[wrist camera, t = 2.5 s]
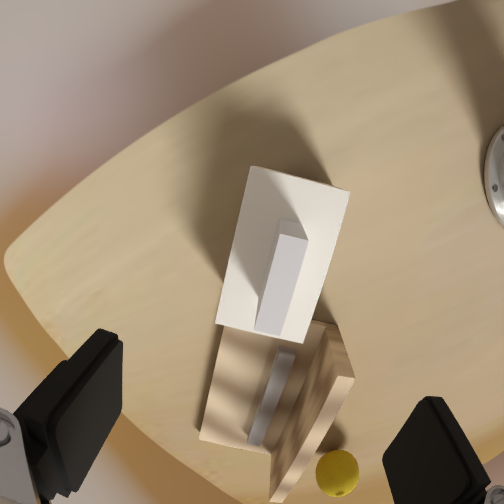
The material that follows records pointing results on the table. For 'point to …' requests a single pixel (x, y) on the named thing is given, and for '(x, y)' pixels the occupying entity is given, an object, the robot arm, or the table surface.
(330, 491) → the lemon
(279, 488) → the cleat board
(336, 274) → the table surface
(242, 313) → the white stepped block
